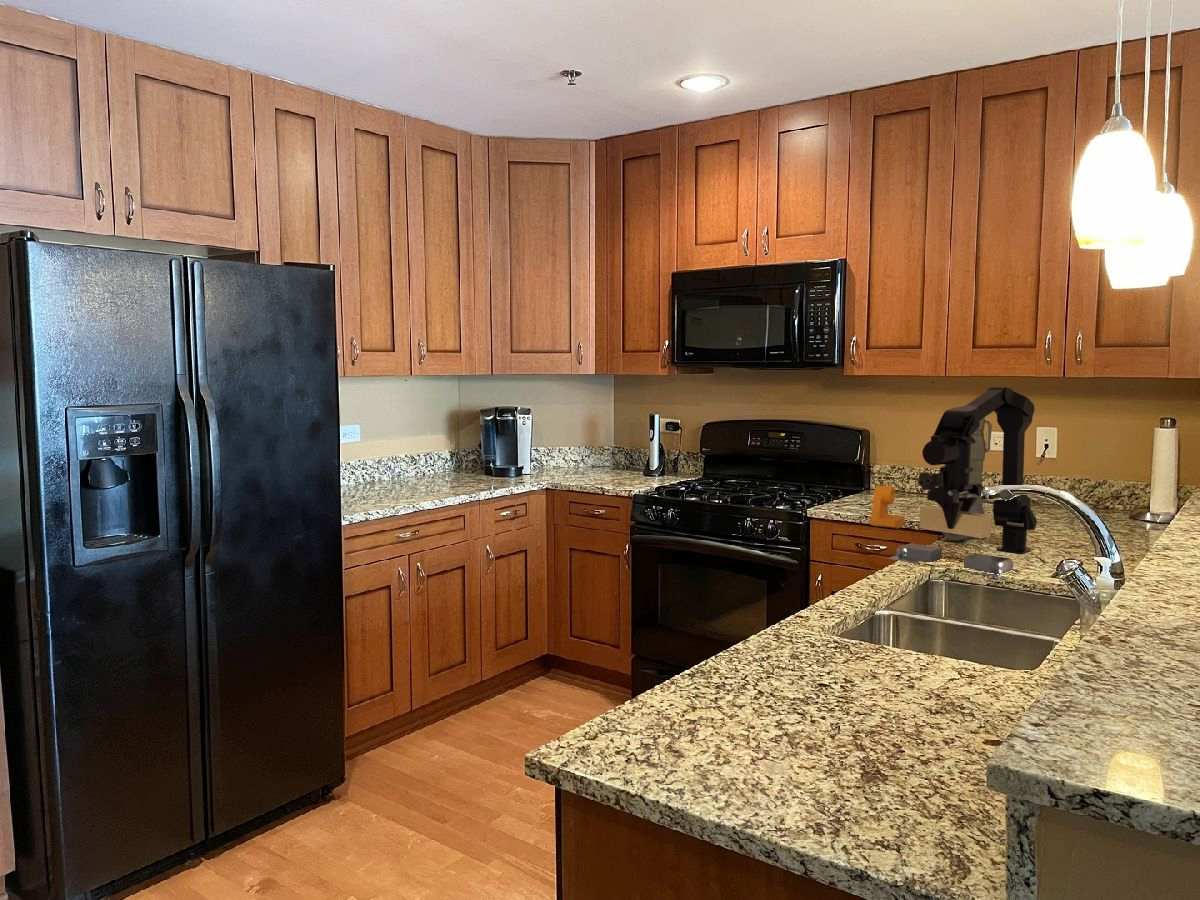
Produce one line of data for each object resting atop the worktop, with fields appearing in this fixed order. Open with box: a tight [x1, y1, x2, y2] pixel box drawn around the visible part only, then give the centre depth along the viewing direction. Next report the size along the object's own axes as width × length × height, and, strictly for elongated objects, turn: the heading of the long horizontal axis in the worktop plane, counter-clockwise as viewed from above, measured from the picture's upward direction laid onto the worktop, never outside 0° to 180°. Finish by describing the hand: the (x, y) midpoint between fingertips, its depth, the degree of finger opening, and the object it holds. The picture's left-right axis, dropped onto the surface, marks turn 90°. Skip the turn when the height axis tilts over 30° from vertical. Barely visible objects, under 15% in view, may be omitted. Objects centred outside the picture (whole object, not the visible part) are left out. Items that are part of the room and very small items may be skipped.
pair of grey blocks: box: [888, 543, 1021, 579], centre depth 213 cm, size 10×28×3 cm, turn 45°
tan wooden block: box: [919, 505, 993, 539], centre depth 212 cm, size 4×16×5 cm, turn 38°
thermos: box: [970, 417, 993, 507], centre depth 292 cm, size 9×12×35 cm
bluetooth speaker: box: [941, 501, 985, 542], centre depth 247 cm, size 23×9×10 cm, turn 149°
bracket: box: [870, 485, 905, 530], centre depth 264 cm, size 11×7×12 cm, turn 147°
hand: (954, 527), depth 212 cm, fingers closed on tan wooden block, 4 cm apart
